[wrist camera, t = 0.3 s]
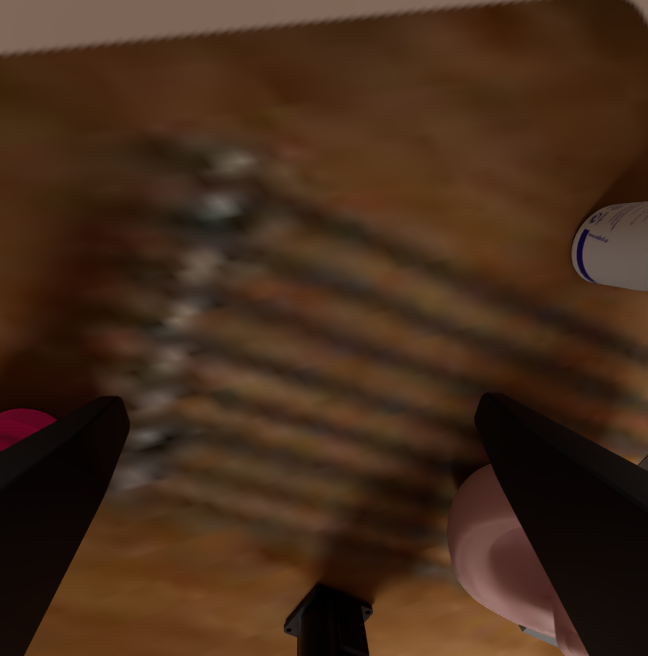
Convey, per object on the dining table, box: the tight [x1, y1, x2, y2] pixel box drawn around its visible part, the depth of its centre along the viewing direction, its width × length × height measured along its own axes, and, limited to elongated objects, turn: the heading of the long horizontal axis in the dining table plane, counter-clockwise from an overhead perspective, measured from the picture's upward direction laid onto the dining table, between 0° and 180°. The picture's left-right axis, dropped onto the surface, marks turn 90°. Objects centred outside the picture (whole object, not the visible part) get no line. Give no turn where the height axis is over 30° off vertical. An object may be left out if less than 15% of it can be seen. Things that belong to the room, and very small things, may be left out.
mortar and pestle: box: [447, 463, 588, 656], centre depth 22 cm, size 12×12×11 cm
